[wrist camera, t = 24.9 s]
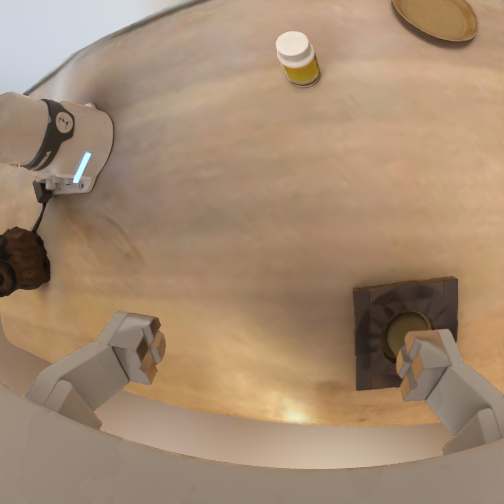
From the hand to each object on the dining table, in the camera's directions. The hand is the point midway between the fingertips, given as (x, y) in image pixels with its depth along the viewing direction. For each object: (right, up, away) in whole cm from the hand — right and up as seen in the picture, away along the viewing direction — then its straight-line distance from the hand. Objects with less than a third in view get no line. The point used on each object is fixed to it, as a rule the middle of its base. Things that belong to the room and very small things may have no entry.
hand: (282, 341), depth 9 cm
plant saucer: (+28, +40, +19) cm, 53 cm away
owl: (-52, +1, +48) cm, 71 cm away
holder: (+19, -8, +26) cm, 33 cm away
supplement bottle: (+6, +28, +27) cm, 39 cm away
